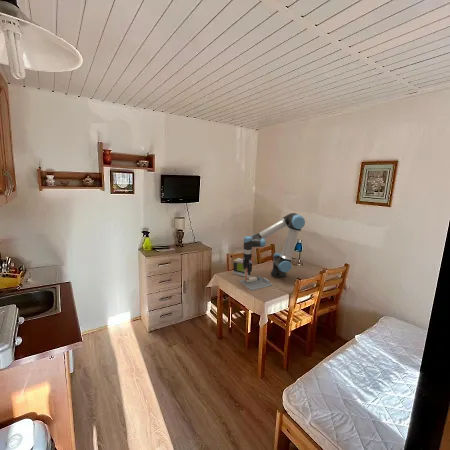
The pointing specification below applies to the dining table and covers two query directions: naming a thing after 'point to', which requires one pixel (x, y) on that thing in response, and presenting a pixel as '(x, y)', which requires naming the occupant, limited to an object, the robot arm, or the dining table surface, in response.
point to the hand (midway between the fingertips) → (247, 277)
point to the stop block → (266, 280)
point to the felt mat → (255, 284)
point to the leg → (249, 278)
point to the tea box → (238, 267)
